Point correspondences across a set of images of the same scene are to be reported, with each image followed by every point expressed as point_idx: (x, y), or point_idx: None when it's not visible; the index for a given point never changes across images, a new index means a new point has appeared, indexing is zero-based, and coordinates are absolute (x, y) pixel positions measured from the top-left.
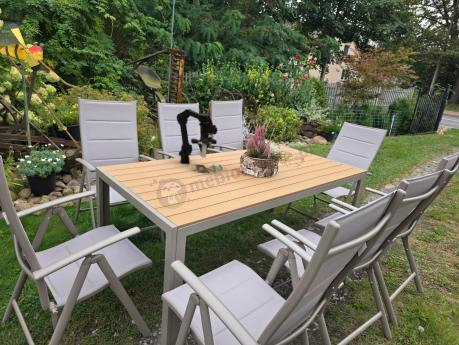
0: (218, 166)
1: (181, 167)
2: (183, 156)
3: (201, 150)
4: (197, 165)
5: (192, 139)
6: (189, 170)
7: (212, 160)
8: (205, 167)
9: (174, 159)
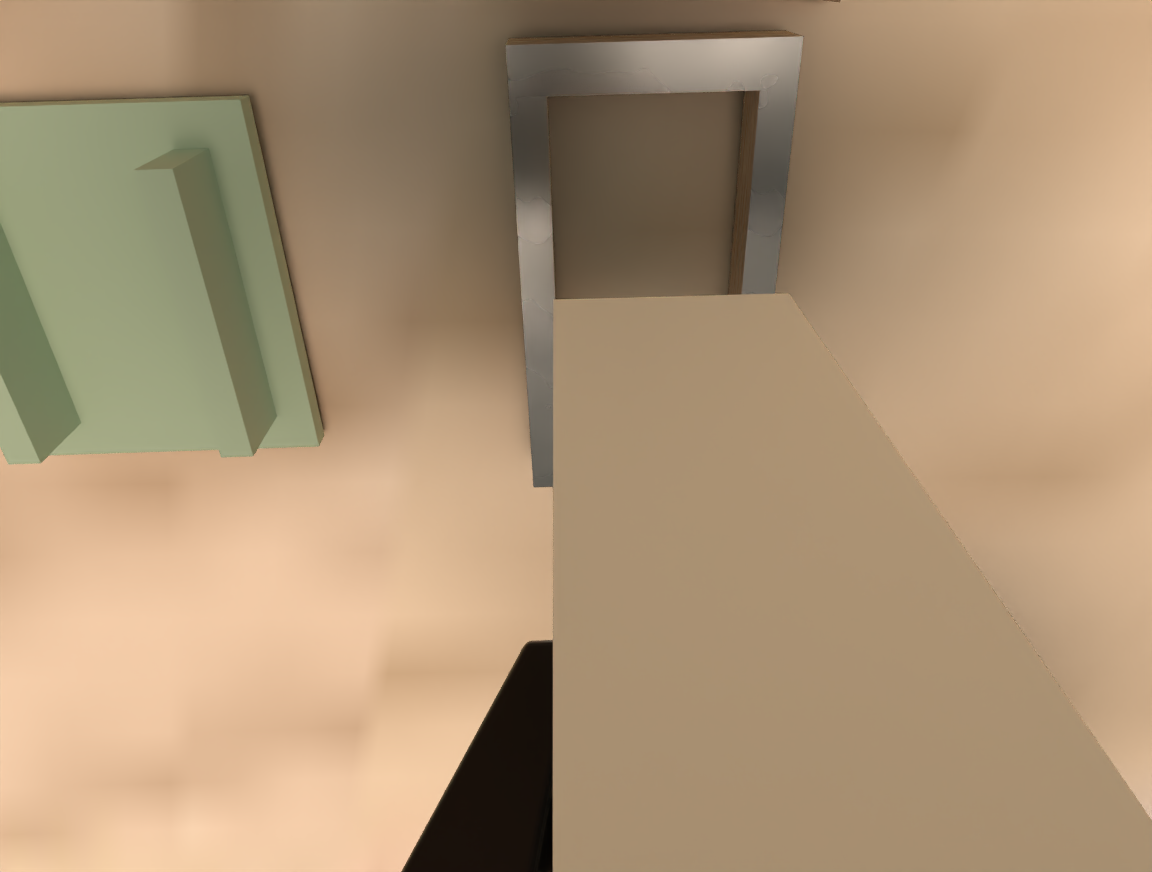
0: (95, 422)
1: (1137, 404)
2: None
3: None
4: None
5: None
6: (1049, 134)
7: (258, 828)
8: (524, 235)
9: None
